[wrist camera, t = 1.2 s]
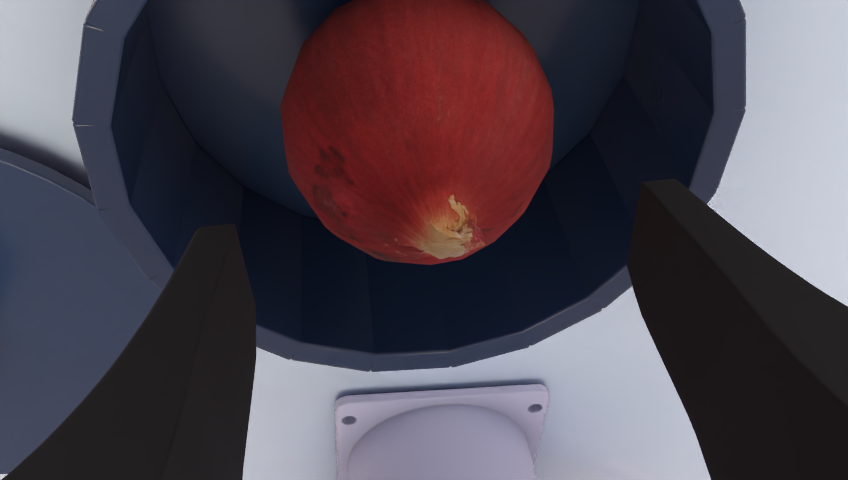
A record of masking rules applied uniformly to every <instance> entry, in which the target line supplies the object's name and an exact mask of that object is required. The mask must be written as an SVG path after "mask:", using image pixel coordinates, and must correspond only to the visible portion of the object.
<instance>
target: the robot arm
mask: <svg viewBox="0 0 848 480" xmlns="http://www.w3.org/2000/svg"><path fill="white" fill-rule="evenodd" d="M627 268H628V272H629V275H630V279H631V282H632V286H633V289H634V293H635V296H636V299H637V302H638V305H639V308H640V311H641V314H642V317H643V319H644V321H645V323H646V326H647V328H648V330H649V332H650V334H651V337H652V339H653V341H654V343H655V345H656V348H657V350H658V352H659V354H660V356H661V358H662V361H663V363H664V365H665V367H666V369H667V371H668V373H669V376H670V378H671V380H672V382H673V384H674V386H675V388H676V391H677V393H678V395H679V397H680V399H681V401H682V403H683V406H684V408H685V410H686V412H687V414H688V417H689V419H690V421H691V424H692V426H693V429H694V431H695V434H696V436H697V439H698V442H699V445H700V448H701V451H702V454H703V457H704V460H705V463H706V466H707V469H708V472H709V474H710V477H711V480H848V307H847V306H846V305H844V304H842V303H841V302H839V301H837V300H836V299H834V298H832V297H831V296H829V295H827V294H826V293H824V292H822V291H821V290H819V289H818V288H816V287H815V286H813V285H812V284H810V283H809V282H807V281H806V280H804V279H803V278H801V277H800V276H798V275H797V274H796V273H794V272H793V271H791V270H790V269H788V268H787V267H786V266H784V265H783V264H781V263H780V262H778V261H777V260H776V259H774V258H773V257H772V256H770V255H769V254H768V253H766V252H765V251H764V250H762V249H761V248H760V247H758V246H757V245H756V244H755V243H753V242H752V241H751V240H749V239H748V238H747V237H746V236H744V235H743V234H742V233H741V232H739V231H738V230H737V229H736V228H734V227H733V226H732V225H731V224H729V223H728V222H727V221H726V220H725V219H723V218H722V217H721V216H720V215H719V214H717V213H716V212H715V211H714V210H712V209H711V208H710V207H709V206H708V205H706V204H705V203H704V202H703V201H702V200H701V199H699V198H698V197H697V196H696V195H695V194H693V193H692V192H691V191H690V190H689V189H687V188H686V187H685V186H684V185H682V184H681V183H680V182H679V181H677V180H676V179H666V180H656V181H647V182H641V187H640V193H639V199H638V205H637V210H636V216H635V222H634V227H633V233H632V239H631V244H630V250H629V256H628V261H627ZM255 363H256V305H255V301H254V297H253V293H252V289H251V286H250V282H249V278H248V274H247V270H246V266H245V262H244V258H243V254H242V250H241V246H240V242H239V238H238V234H237V230H236V226H235V224H226V225H216V226H206V227H199V228H198V229H197V230H196V232H195V233H194V234H193V236H192V238H191V240H190V242H189V244H188V246H187V248H186V250H185V252H184V254H183V256H182V258H181V259H180V261H179V263H178V265H177V267H176V268H175V270H174V272H173V274H172V275H171V277H170V279H169V281H168V282H167V284H166V286H165V288H164V289H163V291H162V292H161V294H160V296H159V297H158V299H157V300H156V302H155V304H154V305H153V307H152V309H151V310H150V312H149V313H148V315H147V316H146V318H145V320H144V321H143V323H142V324H141V325H140V327H139V328H138V330H137V331H136V333H135V334H134V335H133V337H132V338H131V340H130V341H129V342H128V344H127V345H126V347H125V348H124V350H123V351H122V352H121V354H120V355H119V357H118V358H117V359H116V361H115V362H114V363H113V364H112V366H111V367H110V368H109V370H108V371H107V372H106V373H105V375H104V376H103V377H102V378H101V380H100V381H99V382H98V383H97V384H96V386H95V387H94V388H93V389H92V390H91V391H90V393H89V394H88V395H87V396H86V397H85V398H84V400H83V401H82V402H81V403H80V404H79V405H78V406H77V407H76V408H75V409H74V410H73V412H72V413H71V414H70V415H69V416H68V417H67V418H66V419H65V420H64V421H63V422H62V423H61V424H60V426H59V427H58V428H57V429H56V430H55V431H54V432H53V433H52V434H51V435H50V436H49V437H48V438H47V439H46V440H45V441H44V442H43V443H42V444H41V445H40V446H39V447H38V448H37V449H35V450H34V451H33V452H32V453H31V454H30V455H29V456H28V457H27V458H26V459H24V460H23V461H22V462H21V463H20V464H19V465H18V466H17V467H16V468H15V469H13V470H12V471H11V472H10V473H9V474H8V475H7V476H5V477H4V478H3V479H2V480H242V476H243V465H244V456H245V448H246V439H247V431H248V423H249V414H250V406H251V398H252V389H253V380H254V372H255ZM548 403H549V392H548V389H547V388H546V386H544V385H541V384H528V385H512V386H496V387H479V388H463V389H447V390H430V391H414V392H397V393H381V394H365V395H348V396H343V397H341V398H339V399H338V400H337V401H336V402H335V425H336V451H337V477H338V480H537V479H536V475H535V471H534V467H533V465H534V461H535V457H536V453H537V449H538V444H539V440H540V436H541V432H542V428H543V424H544V419H545V415H546V411H547V407H548Z"/></svg>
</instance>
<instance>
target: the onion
mask: <svg viewBox="0 0 848 480" xmlns="http://www.w3.org/2000/svg"><path fill="white" fill-rule="evenodd" d="M280 109H281V118H282V128H283V138H284V147H285V155H286V160H287V165H288V171H289V174H290V176H291V177H292V179H293V181H294V182H295V184H296V186H297V187H298V189H299V190H300V192H301V193H302V195H303V196H304V198H305V199H306V200H307V202H308V203H309V205H310V206H311V208H312V209H313V210H314V212H315V213H316V215H317V216H318V218H319V219H320V220H321V222H322V223H323V225H324V226H325V227H326V228H327V229H328V230H330V231H331V232H332V233H333V234H335V235H336V236H337V237H339V238H340V239H342V240H344V241H346V242H348V243H349V244H351V245H353V246H355V247H356V248H358V249H360V250H362V251H364V252H365V253H367V254H369V255H371V256H372V257H374V258H377V259H380V260H383V261H390V262H402V263H413V264H425V265H433V264H439V263H444V262H450V261H455V260H461V259H464V258H466V257H467V256H469V255H471V254H473V253H475V252H477V251H478V250H480V249H482V248H484V247H486V246H488V245H489V244H491V243H493V242H495V241H496V240H497V239H498V238H499V237H500V236H501V235H502V234H503V233H504V232H505V231H506V230H507V229H508V228H509V227H510V226H511V225H512V224H513V223H515V222H516V221H517V220H518V219H519V217H520V216H521V215H522V214H523V213H524V212H525V210H526V208H527V207H528V205H529V203H530V201H531V200H532V198H533V196H534V194H535V192H536V191H537V189H538V187H539V185H540V183H541V182H542V180H543V178H544V176H545V174H546V173H547V171H548V169H549V167H550V161H551V156H552V148H553V122H554V106H553V99H552V91H551V88H550V85H549V83H548V81H547V79H546V76H545V74H544V72H543V70H542V67H541V65H540V63H539V61H538V58H537V56H536V54H535V52H534V49H533V48H532V46H531V45H530V43H529V42H528V41H527V39H526V38H525V36H524V35H523V33H522V32H521V31H520V30H518V29H517V28H516V27H515V26H514V25H513V24H512V23H511V22H509V21H508V20H507V19H506V18H505V17H504V16H503V15H501V14H500V13H499V12H498V11H497V10H496V9H495V8H494V7H492V6H491V5H490V4H489V3H488V2H486V1H483V0H352V1H350V2H348V3H346V4H344V5H342V6H340V7H338V8H336V9H335V10H334V11H333V12H332V13H331V14H330V15H329V16H328V17H327V18H326V19H325V20H324V21H323V22H322V23H321V25H320V26H319V27H318V28H317V29H316V30H315V31H314V32H313V33H312V34H311V35H310V36H309V37H308V38H307V39H306V41H305V42H304V43H303V44H302V47H301V49H300V52H299V55H298V57H297V60H296V63H295V65H294V68H293V70H292V73H291V76H290V78H289V81H288V84H287V87H286V90H285V93H284V96H283V99H282V102H281V105H280Z"/></svg>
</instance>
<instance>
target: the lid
mask: <svg viewBox="0 0 848 480" xmlns="http://www.w3.org/2000/svg"><path fill="white" fill-rule="evenodd" d="M161 292H162V290H161V289H159V288H158V287H156V286H155V285H154V284H152V283H151V282H150V281H149V278H146V277H145V276H144V275H143V273H142V272H141V270H140V269H139V268H138V266H137V265H136V263H135V262H134V261H133V259H132V258H131V257H130V255H129V254H128V252H127V251H126V250H125V248H124V247H123V245H122V244H121V243H120V241H119V240H118V239H117V237H116V236H115V234H114V233H113V232H112V230H111V229H110V227H109V226H108V225H107V223H106V222H105V221H104V219H103V218H102V216H101V215H100V214H99V211H98V209H97V208H96V205H95V202H94V198H93V194H92V191H91V190H90V189H88V188H87V187H85V186H83V185H82V184H80V183H78V182H76V181H74V180H72V179H70V178H69V177H67V176H65V175H63V174H61V173H59V172H57V171H56V170H54V169H52V168H50V167H47V166H45V165H42V164H40V163H38V162H35V161H33V160H31V159H28V158H26V157H24V156H21V155H19V154H16V153H14V152H11V151H8V150H5V149H1V148H0V474H9V473H10V472H11V471H12V470H13V469H15V468H16V467H17V466H18V465H19V464H20V463H21V462H22V461H23V460H24V459H26V458H27V457H28V456H29V455H30V454H31V453H32V452H33V451H34V450H35V449H37V448H38V447H39V446H40V445H41V444H42V443H43V442H44V441H45V440H46V439H47V438H48V437H49V436H50V435H51V434H52V433H53V432H54V431H55V430H56V429H57V428H58V427H59V426H60V424H61V423H62V422H63V421H64V420H65V419H66V418H67V417H68V416H69V415H70V414H71V413H72V412H73V410H74V409H75V408H76V407H77V406H78V405H79V404H80V403H81V402H82V401H83V400H84V398H85V397H86V396H87V395H88V394H89V393H90V391H91V390H92V389H93V388H94V387H95V386H96V384H97V383H98V382H99V381H100V380H101V378H102V377H103V376H104V375H105V373H106V372H107V371H108V370H109V368H110V367H111V366H112V364H113V363H114V362H115V361H116V359H117V358H118V357H119V355H120V354H121V352H122V351H123V350H124V348H125V347H126V345H127V344H128V342H129V341H130V340H131V338H132V337H133V335H134V334H135V333H136V331H137V330H138V328H139V327H140V325H141V324H142V323H143V321H144V320H145V318H146V316H147V315H148V313H149V312H150V310H151V309H152V307H153V305H154V304H155V302H156V300H157V299H158V297H159V296H160V294H161Z"/></svg>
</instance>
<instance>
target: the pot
mask: <svg viewBox="0 0 848 480" xmlns="http://www.w3.org/2000/svg"><path fill="white" fill-rule="evenodd" d="M350 1H352V0H93V2H92V5H91V7H90V9H89V12H88V14H87V16H86V20H85V22H84V24H83V33H82V41H81V49H80V58H79V66H78V74H77V83H76V91H75V99H74V108H73V116H72V120H73V122H74V123H73V126H74V130H75V133H76V137H77V140H78V144H79V148H80V151H81V155H82V158H83V162H84V166H85V169H86V173H87V176H88V180H89V184H90V187H91V191H92V194H93V198H94V202H95V205H96V208H97V209H98V211H99V214H100V215H101V216H102V218H103V219H104V221H105V222H106V223H107V225H108V226H109V227H110V229H111V230H112V232H113V233H114V234H115V236H116V237H117V239H118V240H119V241H120V243H121V244H122V245H123V247H124V248H125V250H126V251H127V252H128V254H129V255H130V257H131V258H132V259H133V261H134V262H135V263H136V265H137V266H138V268H139V269H140V270H141V272H142V273H143V275H144V276H145V277H146V278H149V281H150V282H151V283H152V284H154V285H155V286H156V287H158V288H159V289H161V290H162V291H163V289H164V288H165V286H166V284H167V282H168V281H169V279H170V277H171V275H172V274H173V272H174V270H175V268H176V267H177V265H178V263H179V261H180V259H181V258H182V256H183V254H184V252H185V250H186V248H187V246H188V244H189V242H190V240H191V238H192V236H193V234H194V233H195V232H196V230H197V229H198V228H199V227H206V226H216V225H226V224H235V226H236V230H237V234H238V238H239V242H240V246H241V250H242V254H243V258H244V262H245V266H246V270H247V274H248V278H249V282H250V286H251V289H252V293H253V297H254V301H255V305H256V347H258V348H261V349H263V350H266V351H268V352H271V353H273V354H276V355H278V356H281V357H283V358H286V359H292V360H295V361H302V362H308V363H315V364H321V365H328V366H334V367H341V368H348V369H354V370H361V371H370V370H371V371H372V372H379V371H396V370H413V369H431V368H448V367H450V366H451V367H456V366H460V365H464V364H468V363H471V362H475V361H479V360H483V359H486V358H490V357H494V356H498V355H501V354H505V353H509V352H513V351H516V350H520V349H524V348H528V347H529V345H534V344H536V343H538V342H540V341H542V340H544V339H546V338H548V337H550V336H552V335H554V334H556V333H558V332H560V331H562V330H564V329H566V328H568V327H570V326H572V325H574V324H576V323H578V322H580V321H582V320H584V319H586V318H588V317H590V316H592V315H594V314H596V313H598V312H600V311H601V310H602V308H606V307H607V306H608V305H609V304H611V303H612V302H613V301H614V300H615V299H617V298H618V297H619V296H620V295H622V294H623V293H624V292H625V291H626V290H628V289H629V288H630V287H631V286H632V282H631V279H630V275H629V272H628V268H627V261H628V256H629V250H630V244H631V239H632V233H633V227H634V222H635V216H636V210H637V205H638V199H639V193H640V187H641V182H647V181H656V180H666V179H676V180H677V181H679V182H680V183H681V184H682V185H684V186H685V187H686V188H687V189H689V190H690V191H691V192H692V193H693V194H695V195H696V196H697V197H698V198H699V199H701V200H702V201H703V202H704V203H705V204H706V205H707V203H708V202H709V201H710V199H711V198H712V197H713V195H714V194H715V193H716V189H717V188H718V186H719V183H720V180H721V178H722V175H723V172H724V169H725V166H726V164H727V161H728V158H729V155H730V152H731V150H732V147H733V144H734V141H735V139H736V136H737V133H738V130H739V127H740V125H741V122H742V119H743V116H744V113H745V106H746V20H745V12H744V10H743V7H742V5H741V2H740V0H483V1H486V2H488V3H489V4H490V5H491V6H492V7H494V8H495V9H496V10H497V11H498V12H499V13H500V14H501V15H503V16H504V17H505V18H506V19H507V20H508V21H509V22H511V23H512V24H513V25H514V26H515V27H516V28H517V29H518V30H520V31H521V32H522V33H523V35H524V36H525V38H526V39H527V41H528V42H529V43H530V45H531V46H532V48H533V49H534V52H535V54H536V56H537V58H538V61H539V63H540V65H541V67H542V70H543V72H544V74H545V76H546V79H547V81H548V83H549V85H550V88H551V91H552V99H553V106H554V122H553V148H552V156H551V161H550V167H549V169H548V171H547V173H546V174H545V176H544V178H543V180H542V182H541V183H540V185H539V187H538V189H537V191H536V192H535V194H534V196H533V198H532V200H531V201H530V203H529V205H528V207H527V208H526V210H525V212H524V213H523V214H522V215H521V216H520V217H519V219H518V220H517V221H516V222H515V223H513V224H512V225H511V226H510V227H509V228H508V229H507V230H506V231H505V232H504V233H503V234H502V235H501V236H500V237H499V238H498V239H497V240H496V241H495V242H493V243H491V244H489V245H488V246H486V247H484V248H482V249H480V250H478V251H477V252H475V253H473V254H471V255H469V256H467V257H466V258H464V259H461V260H455V261H450V262H444V263H439V264H433V265H425V264H413V263H402V262H390V261H383V260H380V259H377V258H374V257H372V256H371V255H369V254H367V253H365V252H364V251H362V250H360V249H358V248H356V247H355V246H353V245H351V244H349V243H348V242H346V241H344V240H342V239H340V238H339V237H337V236H336V235H335V234H333V233H332V232H331V231H330V230H328V229H327V228H326V227H325V226H324V225H323V223H322V222H321V220H320V219H319V218H318V216H317V215H316V213H315V212H314V210H313V209H312V208H311V206H310V205H309V203H308V202H307V200H306V199H305V198H304V196H303V195H302V193H301V192H300V190H299V189H298V187H297V186H296V184H295V182H294V181H293V179H292V177H291V176H290V174H289V171H288V165H287V160H286V155H285V147H284V138H283V128H282V118H281V109H280V105H281V102H282V99H283V96H284V93H285V90H286V87H287V84H288V81H289V78H290V76H291V73H292V70H293V68H294V65H295V63H296V60H297V57H298V55H299V52H300V49H301V47H302V44H303V43H304V42H305V41H306V39H307V38H308V37H309V36H310V35H311V34H312V33H313V32H314V31H315V30H316V29H317V28H318V27H319V26H320V25H321V23H322V22H323V21H324V20H325V19H326V18H327V17H328V16H329V15H330V14H331V13H332V12H333V11H334V10H335V9H336V8H338V7H340V6H342V5H344V4H346V3H348V2H350Z"/></svg>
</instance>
